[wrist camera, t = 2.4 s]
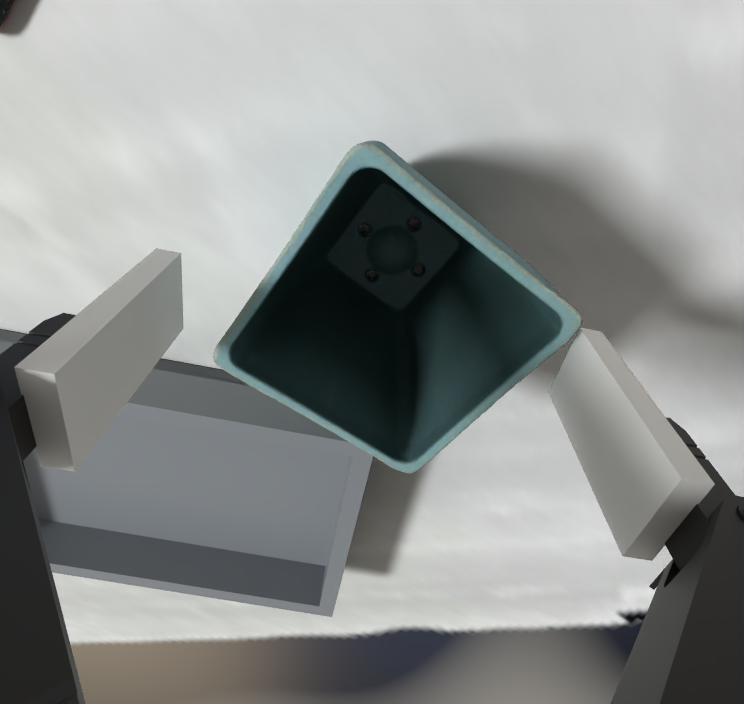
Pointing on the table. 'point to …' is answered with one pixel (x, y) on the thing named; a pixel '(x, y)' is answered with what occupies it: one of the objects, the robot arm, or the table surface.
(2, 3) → the handheld game console
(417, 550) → the table surface
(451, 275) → the flower pot
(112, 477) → the tray
